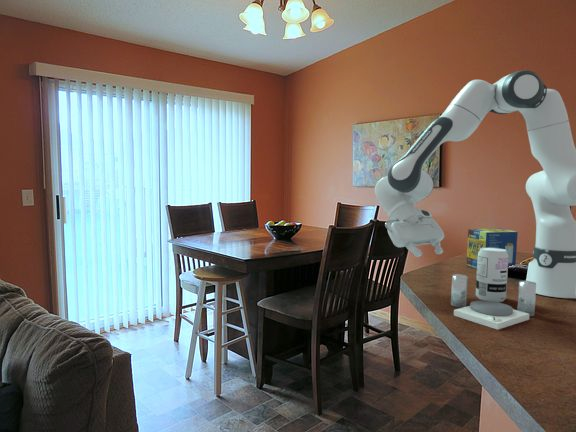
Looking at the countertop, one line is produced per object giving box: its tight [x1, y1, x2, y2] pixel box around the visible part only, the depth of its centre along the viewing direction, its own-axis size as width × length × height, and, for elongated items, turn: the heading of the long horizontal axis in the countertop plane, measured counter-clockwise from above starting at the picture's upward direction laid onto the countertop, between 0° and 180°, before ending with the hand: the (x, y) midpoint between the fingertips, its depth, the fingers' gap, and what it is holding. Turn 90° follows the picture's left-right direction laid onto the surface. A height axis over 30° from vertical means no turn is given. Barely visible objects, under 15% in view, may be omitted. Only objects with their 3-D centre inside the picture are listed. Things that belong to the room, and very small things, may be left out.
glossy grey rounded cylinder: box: [450, 273, 469, 308], centre depth 118 cm, size 4×4×8 cm
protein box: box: [466, 227, 519, 270], centre depth 168 cm, size 10×15×16 cm
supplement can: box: [475, 248, 509, 303], centre depth 124 cm, size 8×8×15 cm
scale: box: [453, 300, 530, 331], centre depth 108 cm, size 14×12×2 cm
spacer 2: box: [516, 280, 537, 317], centre depth 111 cm, size 4×4×8 cm
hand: (430, 254), depth 126 cm, fingers open, 8 cm apart
